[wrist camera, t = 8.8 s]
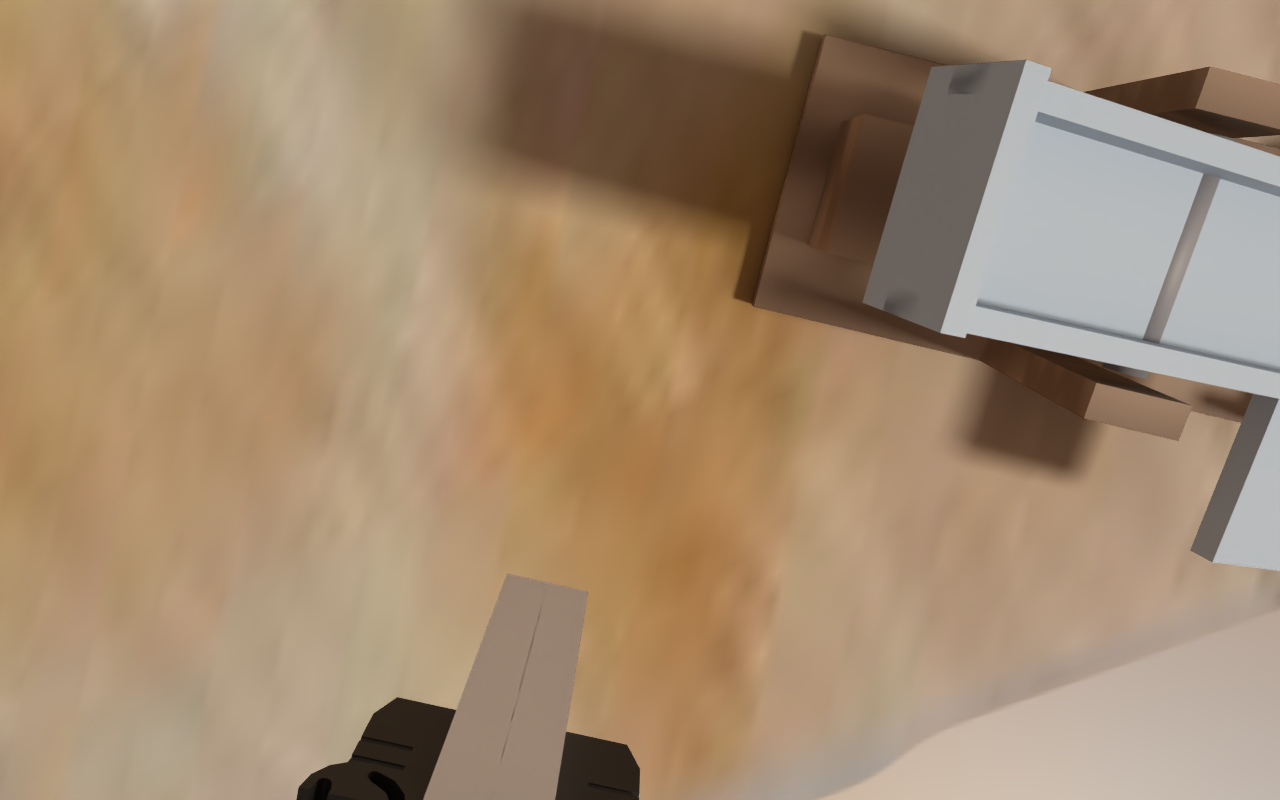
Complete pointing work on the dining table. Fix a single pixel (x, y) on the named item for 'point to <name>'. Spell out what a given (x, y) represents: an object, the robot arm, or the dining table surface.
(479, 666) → the robot arm
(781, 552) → the dining table surface
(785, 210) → the stand
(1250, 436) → the lever
